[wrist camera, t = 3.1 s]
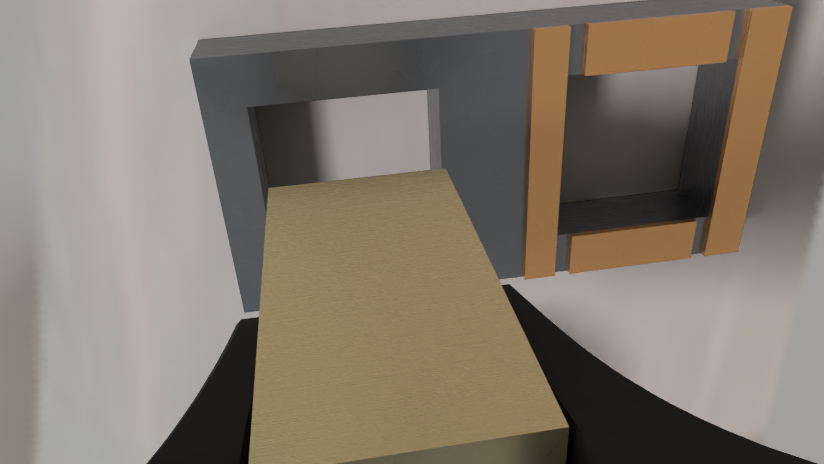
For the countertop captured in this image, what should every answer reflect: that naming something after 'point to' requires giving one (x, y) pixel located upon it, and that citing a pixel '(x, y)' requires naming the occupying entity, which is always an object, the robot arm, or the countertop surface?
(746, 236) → the countertop surface
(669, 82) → the countertop surface
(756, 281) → the countertop surface
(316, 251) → the peg
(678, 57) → the rail
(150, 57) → the countertop surface
